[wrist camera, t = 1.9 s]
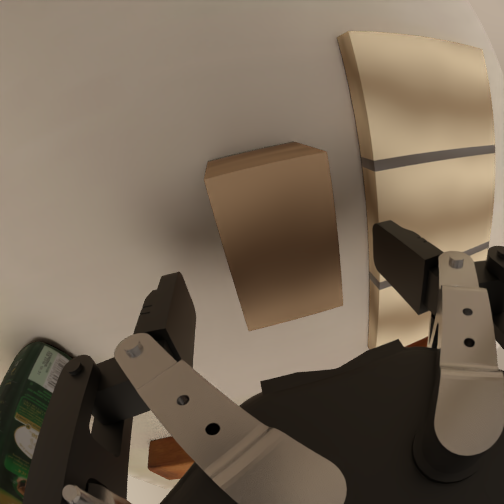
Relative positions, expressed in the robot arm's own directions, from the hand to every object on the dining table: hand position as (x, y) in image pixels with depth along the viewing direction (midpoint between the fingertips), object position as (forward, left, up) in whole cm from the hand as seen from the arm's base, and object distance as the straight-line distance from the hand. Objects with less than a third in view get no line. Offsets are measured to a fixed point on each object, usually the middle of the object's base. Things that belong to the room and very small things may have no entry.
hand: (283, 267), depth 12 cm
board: (+1, +12, -5) cm, 13 cm away
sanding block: (-1, 0, -5) cm, 5 cm away
